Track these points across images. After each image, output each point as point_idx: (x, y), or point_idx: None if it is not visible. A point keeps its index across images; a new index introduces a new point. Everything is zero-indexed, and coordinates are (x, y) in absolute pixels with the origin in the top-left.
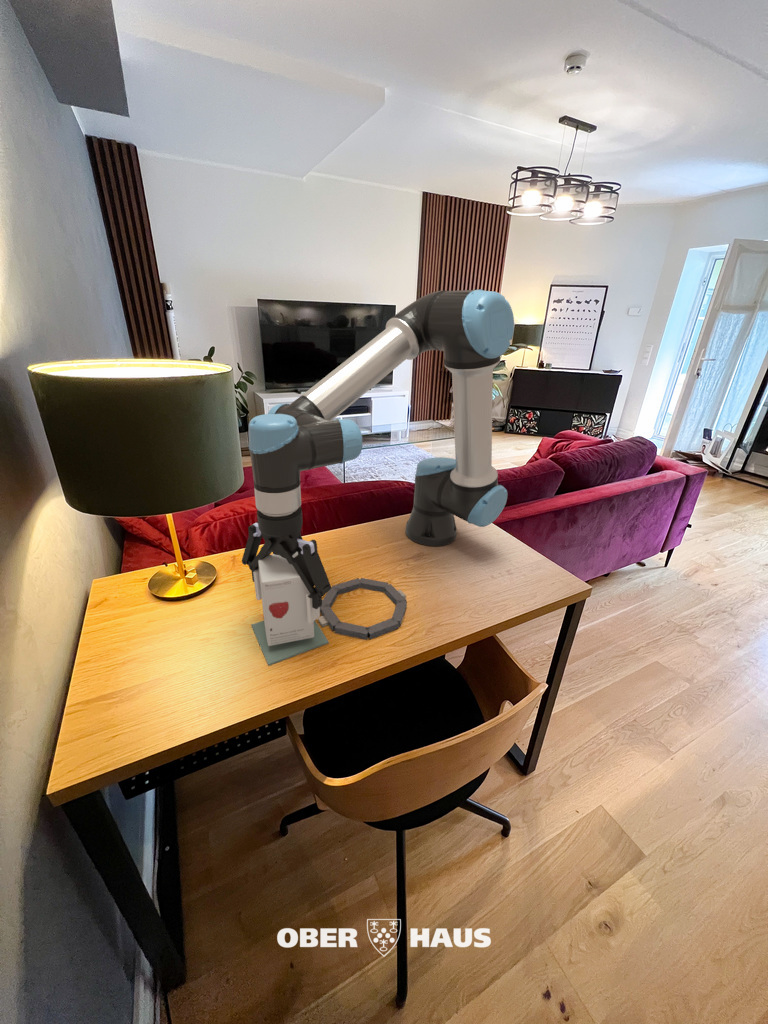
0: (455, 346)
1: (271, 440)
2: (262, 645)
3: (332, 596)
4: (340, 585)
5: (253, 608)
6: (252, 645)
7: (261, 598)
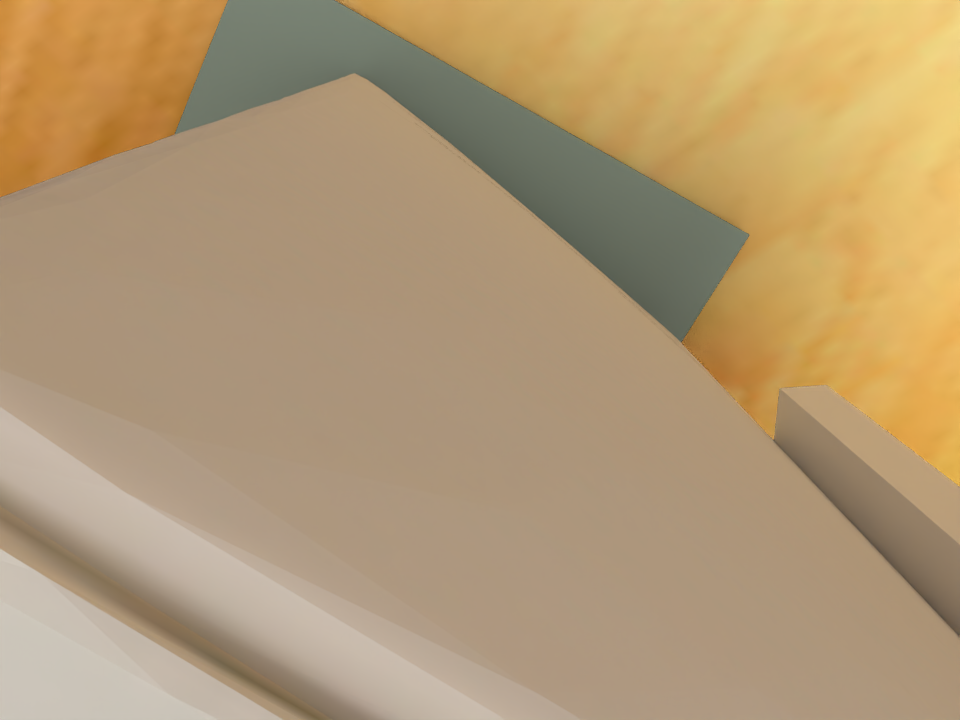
0: None
1: None
2: (476, 103)
3: None
4: None
5: (868, 389)
6: (565, 63)
7: (776, 426)
